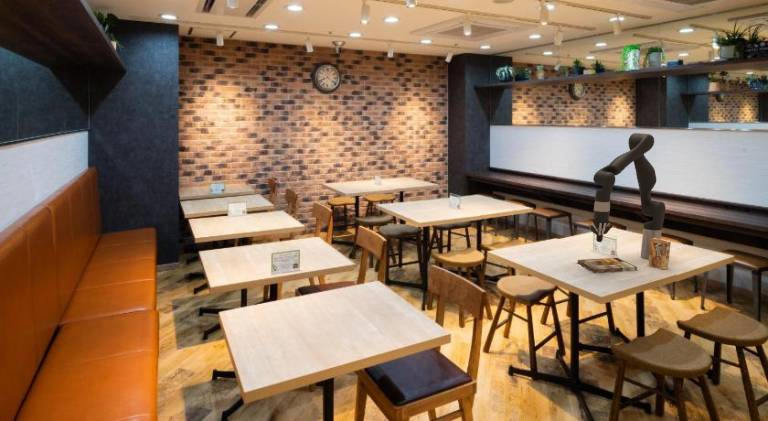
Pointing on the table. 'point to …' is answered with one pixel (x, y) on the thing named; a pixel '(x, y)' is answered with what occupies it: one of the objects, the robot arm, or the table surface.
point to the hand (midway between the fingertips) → (599, 241)
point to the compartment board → (606, 266)
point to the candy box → (659, 253)
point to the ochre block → (609, 261)
